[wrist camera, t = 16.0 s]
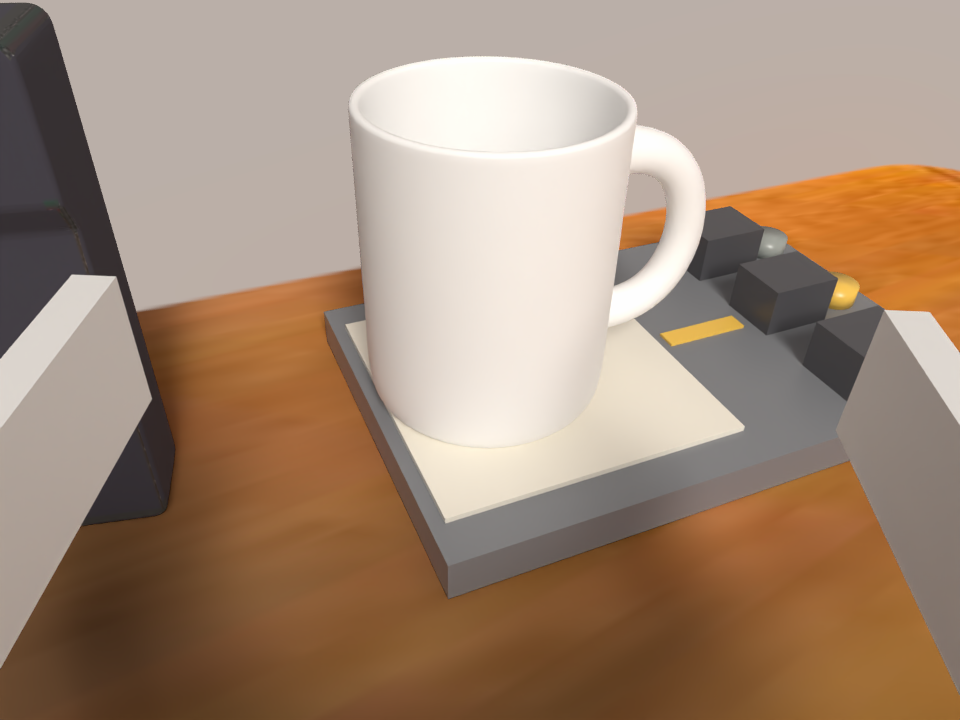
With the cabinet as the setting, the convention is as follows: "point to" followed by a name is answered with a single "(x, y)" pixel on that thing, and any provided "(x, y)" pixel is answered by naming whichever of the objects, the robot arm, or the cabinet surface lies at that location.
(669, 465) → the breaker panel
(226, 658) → the cabinet surface
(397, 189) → the mug
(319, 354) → the cabinet surface
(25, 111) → the dark grey box
